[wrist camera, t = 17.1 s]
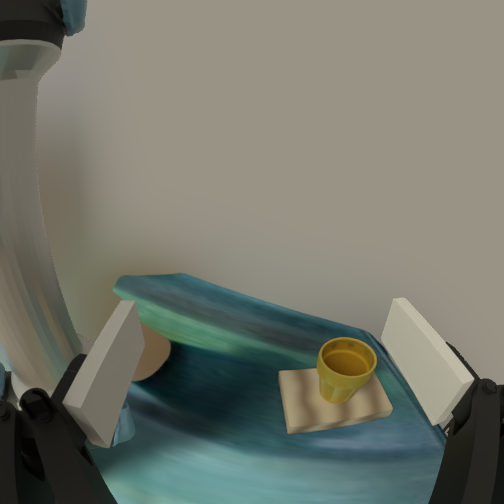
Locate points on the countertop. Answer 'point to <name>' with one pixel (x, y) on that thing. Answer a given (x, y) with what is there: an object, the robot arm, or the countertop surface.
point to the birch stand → (328, 403)
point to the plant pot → (344, 368)
